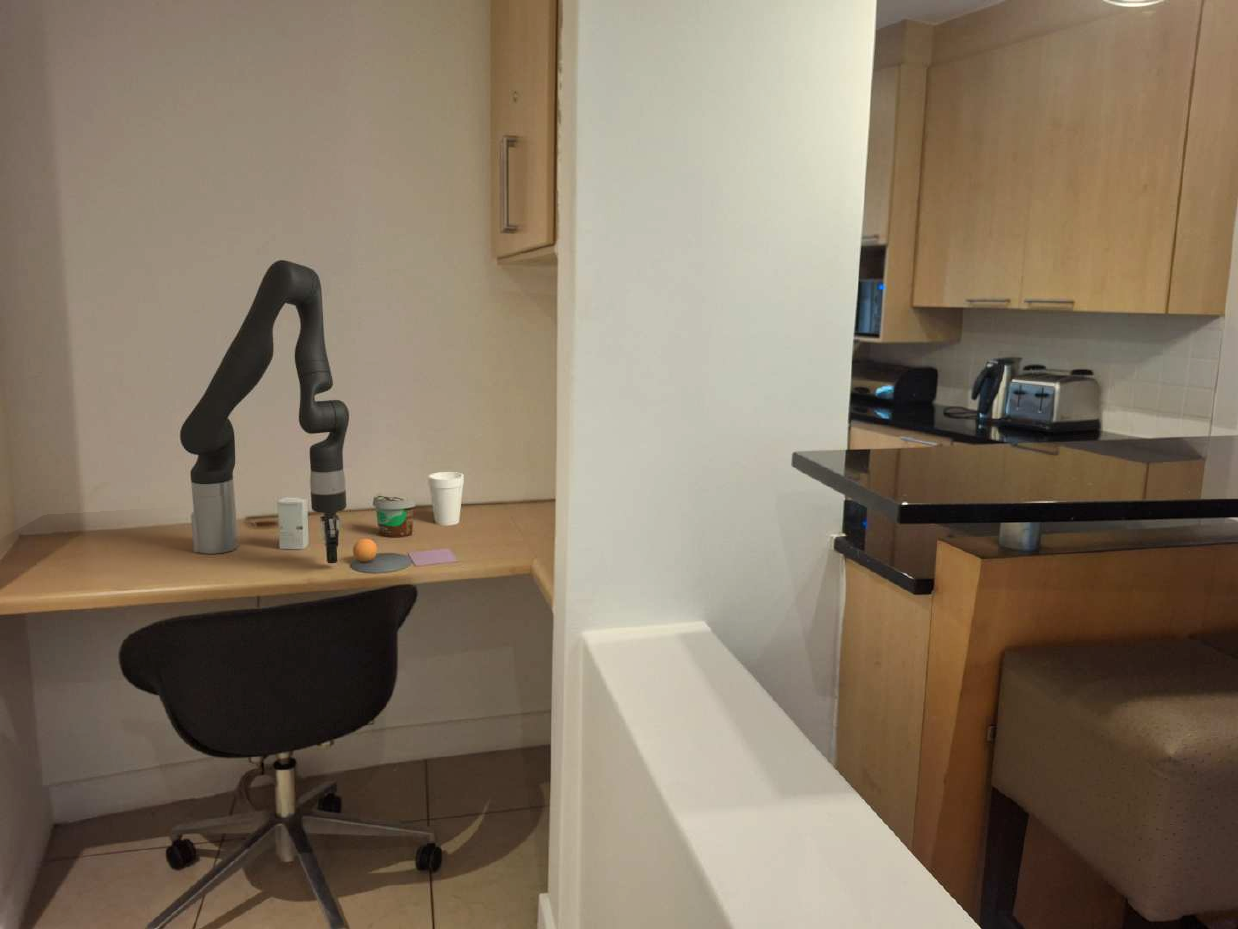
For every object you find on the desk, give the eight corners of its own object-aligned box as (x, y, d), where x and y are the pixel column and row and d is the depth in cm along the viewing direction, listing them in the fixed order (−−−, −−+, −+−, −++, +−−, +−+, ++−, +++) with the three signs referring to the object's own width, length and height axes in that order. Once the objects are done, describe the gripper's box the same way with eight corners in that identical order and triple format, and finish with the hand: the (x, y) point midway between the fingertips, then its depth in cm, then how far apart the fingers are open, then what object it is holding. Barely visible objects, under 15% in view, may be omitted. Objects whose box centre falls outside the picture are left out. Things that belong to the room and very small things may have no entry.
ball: (371, 531, 208) (385, 547, 210) (355, 537, 210) (370, 553, 213) (359, 547, 203) (375, 563, 206) (344, 552, 206) (359, 569, 208)
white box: (279, 549, 216) (275, 501, 214) (285, 544, 221) (281, 496, 218) (304, 549, 216) (301, 501, 214) (310, 544, 221) (307, 497, 218)
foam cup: (431, 517, 246) (430, 471, 243) (465, 517, 247) (464, 471, 244) (428, 527, 237) (426, 480, 234) (463, 526, 238) (462, 479, 235)
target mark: (354, 576, 199) (354, 575, 199) (347, 557, 211) (347, 556, 211) (417, 569, 204) (417, 568, 204) (406, 551, 217) (406, 550, 217)
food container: (363, 534, 229) (361, 497, 227) (380, 528, 235) (378, 492, 233) (400, 542, 224) (399, 503, 222) (416, 535, 229) (415, 498, 227)
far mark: (415, 566, 206) (415, 565, 206) (408, 553, 215) (408, 552, 215) (458, 561, 210) (458, 560, 210) (449, 549, 219) (449, 548, 219)
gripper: (348, 494, 195) (352, 569, 199) (342, 481, 207) (346, 552, 211) (312, 497, 192) (317, 573, 196) (308, 483, 204) (312, 555, 208)
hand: (332, 562), depth 203 cm, fingers closed
